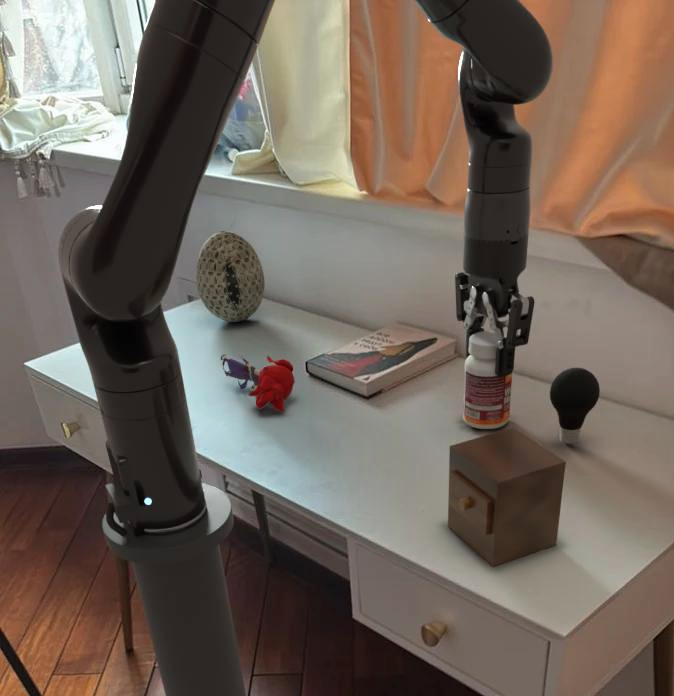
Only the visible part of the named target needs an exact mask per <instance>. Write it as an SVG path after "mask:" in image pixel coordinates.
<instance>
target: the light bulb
mask: <svg viewBox="0 0 674 696" xmlns="http://www.w3.org/2000/svg"><path fill="white" fill-rule="evenodd" d="M549 389H550V390H549V399H550V402H551V405H552V407H553V409H555V411H556V413H557V419H558V424H559V427H560V428H559V437H558V439H559V441H560V442H562V443H563V444H564V445H565V446H572V445H573V444H576V443H577V442H579V440H580V436H581V430H582V427H583V425H584V423H585V420H586V418H587V415H588V414H589V413H590V412H591V411H592V410H593V409H594V408H595V406H596V405H597V403H598V401H599V399H600V392H601V391H600V389H601V388H600V384H599V381H598V378H597V377H596V375H594V374H593V373H592V372H591V371H589V370H588V369H585V368H583V367H570V368H567V369H565V370H563V371H561V372H560V373H559V374H557V376H556V377H555V378H554V379H553V380H552V383H551V385H550V388H549Z"/></svg>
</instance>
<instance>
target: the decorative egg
mask: <svg viewBox="0 0 674 696" xmlns="http://www.w3.org/2000/svg"><path fill="white" fill-rule="evenodd" d="M195 267H196V269H195V271H196V272H195V278H196V286H197V290H198V291H197V292H198V294H199V297H200V299H201V302H202V303H203V305H204V306H205V308H206V309H207V310H208V312H210V313H211V314H212V315H213V316H215V317H216V318H217V319H220V320H222V321H224V322H230V323H238V322H243V321H245V320H247V319H249V318H250V317H251V316H253V315H254V314H255V313H256V312H257V310H258V309H259V308H260V306H261V304H262V302H263V299H264V296H265V295H264V294H265V284H266V283H265V275H264V269H263V265H262V263H261V260H260V258H259V256H258V254H257V252H256V250H255V249H254V247H253V246H252V245H251V243H250V242H249V241H247V239H245V238H244V237H243V236H242V235H240V234H238V233H236V232H233V231H230V230H222V231H217V232H215V233H214V234H212V235H211V236H210V237H208V238H207V240H206V241H205V242H204V243H203V245H202V247H201V249H200V251H199V254H198V257H197V261H196V266H195Z"/></svg>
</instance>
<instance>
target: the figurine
mask: <svg viewBox="0 0 674 696" xmlns="http://www.w3.org/2000/svg"><path fill="white" fill-rule="evenodd" d="M238 357H239V358H240V359H241V360H242V362H240V361H239V360H236V359H234V358H232V357H230V358H228V355H227V354H222V355H221V356H220V360H221V361H222V369H223V372H224V374H225V377H230V378H234V379H237V383H238V386H239V387H240V390H243V391H244V390H245V389H246V388H247V385H248V382H249V381H250V382H252V383H253V384H251V386H250V387H249V390H250V391H251V392H249V393H248V394H247V396H249V397H256V398H255V406H256V408H258V409H260V410H261V409H264V408H265V406H267V405H268V404H269V403H270V405H271V406H272V408H273V409H275V410H276V411H278V412H280V413H281V412H282V413H283V412H285V408H284V406H285V401H286V400H287V399H288V398H289V396H290V395H291V394H292V392H293V389H294V385H295V383H296V380H295V375H294V374H293V371H294V365H293V364H292V363H291V362H290V361H289V360H286V359H284V358H280V359H278V360H274V359H272V357H271V356H269V355H268V354H267V355H266V360H267V361H268V363H273V364H269V365H264V366H263V367H262V368H261V369H258V368H257V367H255V366H254V365H252V364H250V362H249V361H248V360H246V359H245V358H244V356H243V355H242V354H239V356H238ZM243 362H244V363H243ZM225 363H227V367H228V371H227V370H226V369H225V365H226V364H225ZM240 380H241V381H242V380H243V381H244V382H243V383H240Z"/></svg>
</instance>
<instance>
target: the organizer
mask: <svg viewBox="0 0 674 696" xmlns="http://www.w3.org/2000/svg"><path fill="white" fill-rule="evenodd" d="M448 457H449V458H448V466H449V467H448V506H447V507H448V509H447V527H448V528H449V529H450V530H451V531H452V532H454V534H455V535H457V536H458V537H459V538H460V539H461V540H463V541H464V542H465V544H467V545H468V546H469V547H470V548H471V549H473V550H474V551H475V552H476V553H477V554H478V555H479V556H480V557H482V558H483V559H484V560H485V561H486V562H487V563H488V564H489V565H490V566H492V567H497V566H500V565H503V564H505V563H508V562H511V561H514V560H516V559H519V558H523V557H525V556H528V555H531V554H534V553H537V552H540V551H543V550H545V549H548V548H551V547H555V546H557V544H558V543H557V541H558V534H559V524H560V516H561V507H562V499H563V489H564V482H565V481H564V480H565V474H566V473H565V472H566V466H567V465H566V464H567V461H565V460H564V459H562V458H561V457H560V456H558V455H557V454H555V453H554V452H552V451H551V450H549V449H547V447H544V446H543V445H541V444H540V443H538V442H537V441H535V440H534V439H532V438H531V437H529V436H527V435H526V434H524V433H523V432H521V431H520V430H518V429H517V428H515V427H509V428H506V429H503V430H500V431H496V432H492V433H490V434H485V435H482V436H478V437H475V438H472V439H469V440H465V441H462V442H457V443H455V444H451V445H449V455H448Z"/></svg>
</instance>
